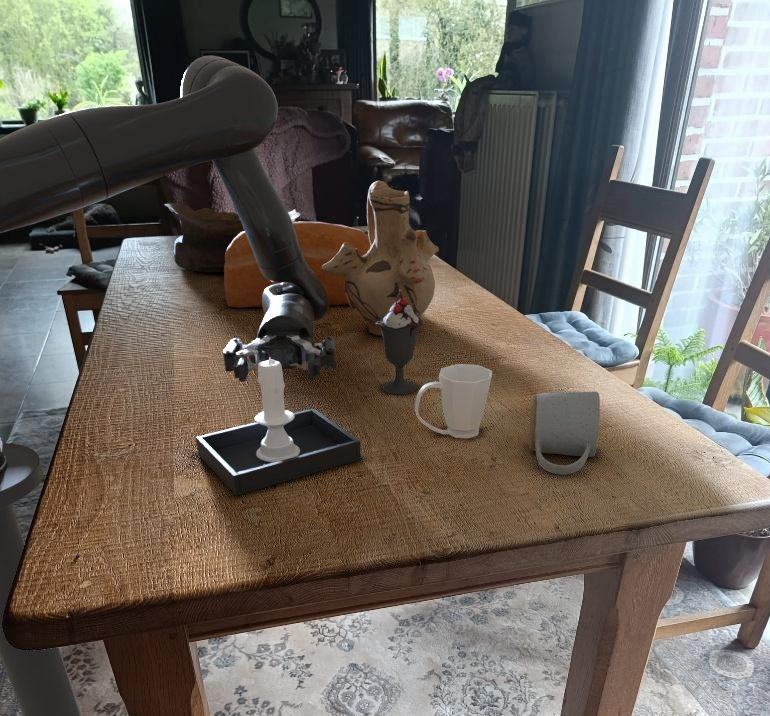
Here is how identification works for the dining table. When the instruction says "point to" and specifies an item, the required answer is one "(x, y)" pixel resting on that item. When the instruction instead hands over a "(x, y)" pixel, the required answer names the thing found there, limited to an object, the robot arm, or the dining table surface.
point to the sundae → (399, 342)
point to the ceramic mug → (564, 427)
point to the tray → (248, 473)
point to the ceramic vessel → (386, 260)
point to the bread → (317, 250)
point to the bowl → (206, 237)
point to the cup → (460, 398)
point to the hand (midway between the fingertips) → (276, 373)
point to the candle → (274, 415)
